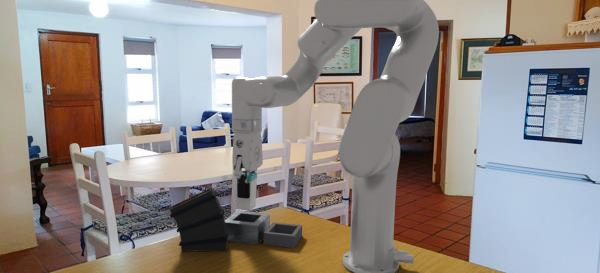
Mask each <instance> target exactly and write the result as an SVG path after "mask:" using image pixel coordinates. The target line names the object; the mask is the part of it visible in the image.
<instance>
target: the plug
mask: <svg viewBox="0 0 600 273" xmlns="http://www.w3.org/2000/svg"><path fill="white" fill-rule="evenodd" d="M242 174H244V176H245V173H242ZM236 181H237V178H236ZM257 181H258V173H257V172H256V173H250V172H249V180H248V183H250V198H248V199H247V198H238V197H237V184H236V187H235V188H236V189H235V209H236V210H240V211H246V212H252V210H253V209H254V208H256V203H257V200H256V199H257Z"/></svg>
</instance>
